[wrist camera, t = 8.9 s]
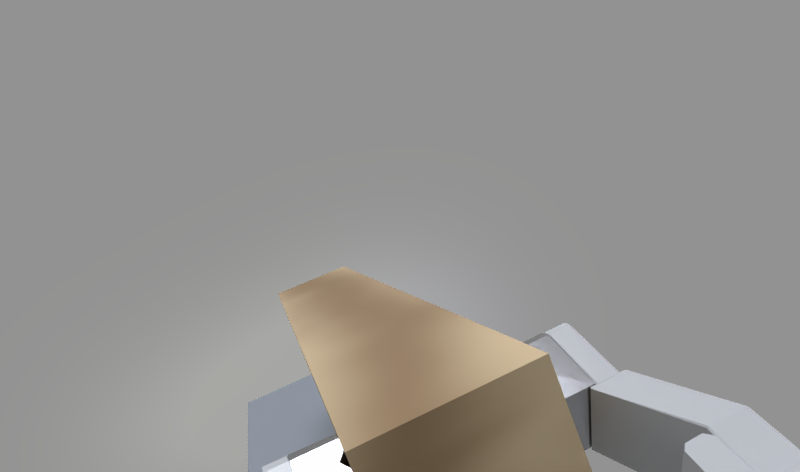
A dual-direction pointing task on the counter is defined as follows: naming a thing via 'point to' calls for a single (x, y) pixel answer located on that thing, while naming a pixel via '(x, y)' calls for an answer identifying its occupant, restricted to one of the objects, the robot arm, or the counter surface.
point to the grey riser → (286, 422)
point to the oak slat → (428, 384)
